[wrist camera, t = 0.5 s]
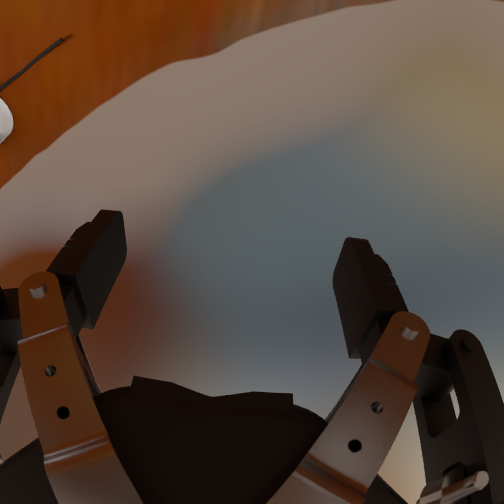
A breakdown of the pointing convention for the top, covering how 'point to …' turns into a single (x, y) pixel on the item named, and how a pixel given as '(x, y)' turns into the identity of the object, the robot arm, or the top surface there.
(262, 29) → the top surface
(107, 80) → the top surface
